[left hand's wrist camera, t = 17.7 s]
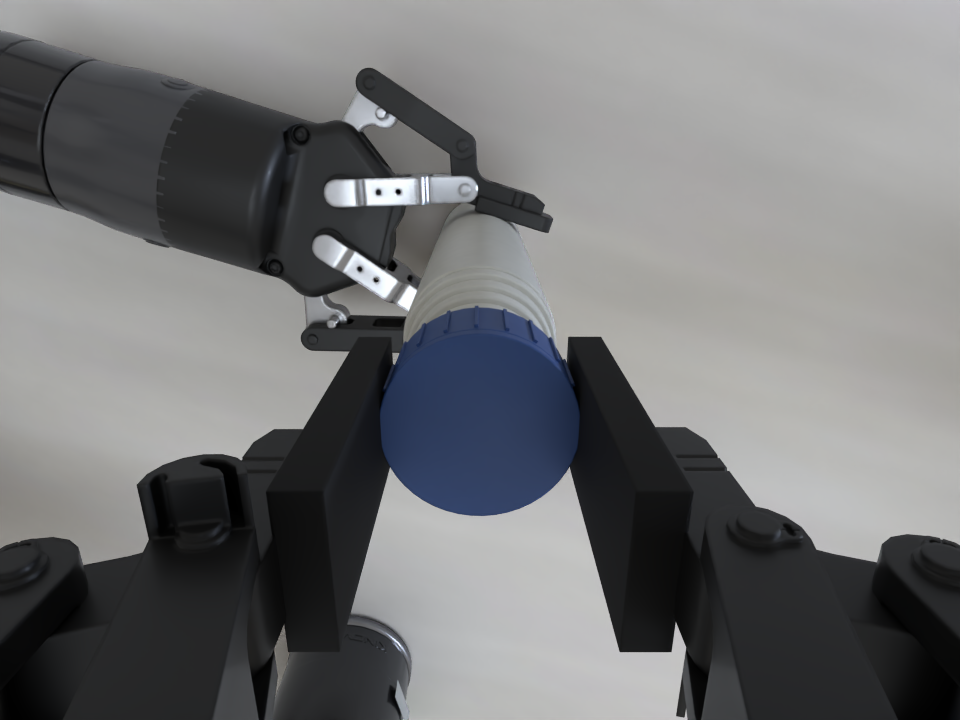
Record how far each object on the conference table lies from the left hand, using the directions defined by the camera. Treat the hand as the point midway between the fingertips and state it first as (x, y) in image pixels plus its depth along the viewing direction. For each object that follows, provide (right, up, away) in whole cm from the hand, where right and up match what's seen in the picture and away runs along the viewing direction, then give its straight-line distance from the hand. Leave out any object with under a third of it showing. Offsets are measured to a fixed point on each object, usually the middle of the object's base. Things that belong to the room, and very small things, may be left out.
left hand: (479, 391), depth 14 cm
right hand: (+2, +5, +16) cm, 17 cm away
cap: (0, -1, -2) cm, 2 cm away
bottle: (0, +8, +22) cm, 23 cm away
